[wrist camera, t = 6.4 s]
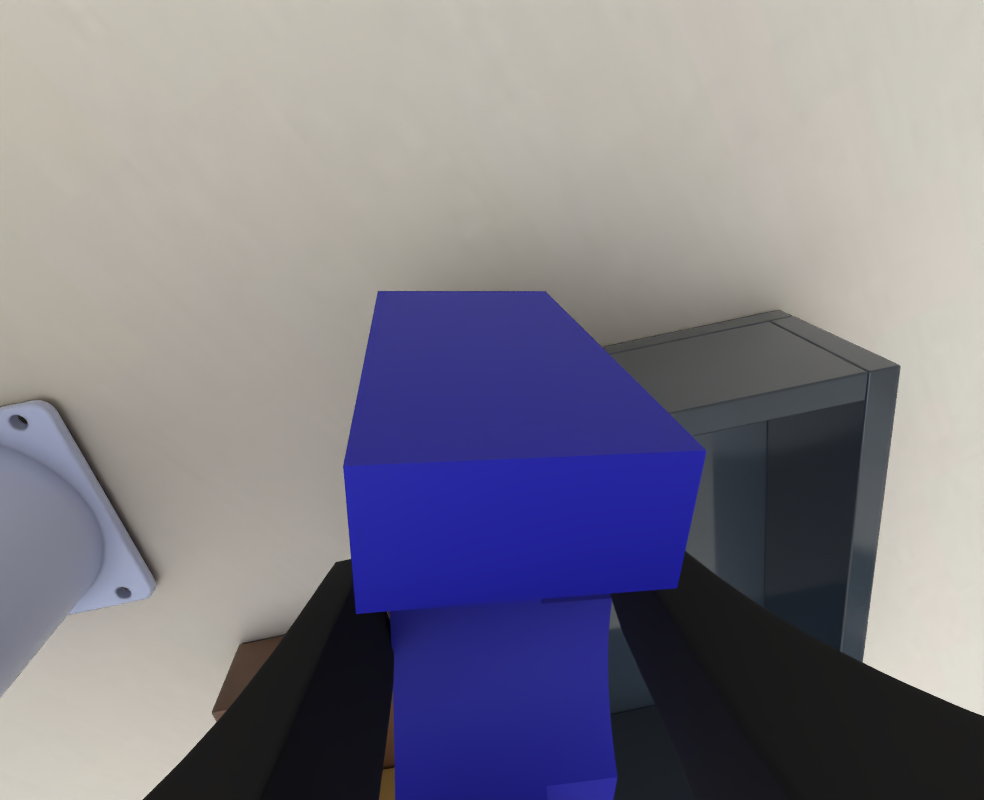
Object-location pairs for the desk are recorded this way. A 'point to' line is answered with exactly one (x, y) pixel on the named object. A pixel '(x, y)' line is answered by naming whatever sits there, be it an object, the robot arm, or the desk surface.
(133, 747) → the desk surface
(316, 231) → the desk surface
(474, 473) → the cable clip
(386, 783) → the yellow box red patch
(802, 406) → the grey open box
